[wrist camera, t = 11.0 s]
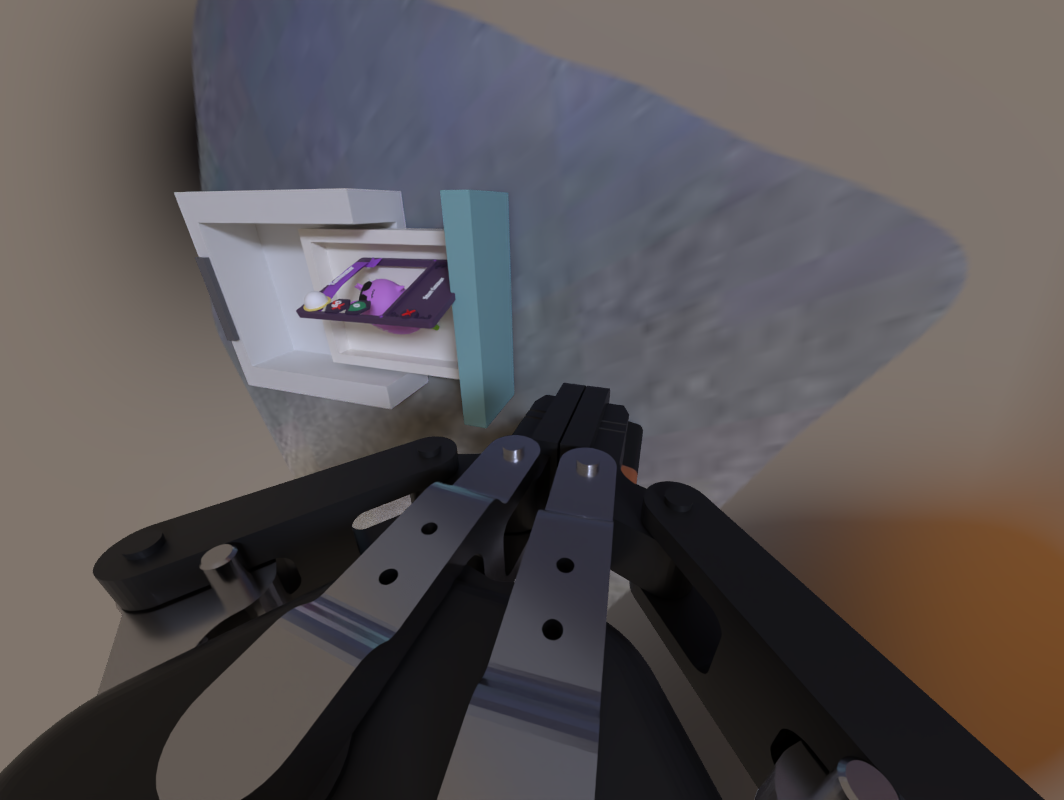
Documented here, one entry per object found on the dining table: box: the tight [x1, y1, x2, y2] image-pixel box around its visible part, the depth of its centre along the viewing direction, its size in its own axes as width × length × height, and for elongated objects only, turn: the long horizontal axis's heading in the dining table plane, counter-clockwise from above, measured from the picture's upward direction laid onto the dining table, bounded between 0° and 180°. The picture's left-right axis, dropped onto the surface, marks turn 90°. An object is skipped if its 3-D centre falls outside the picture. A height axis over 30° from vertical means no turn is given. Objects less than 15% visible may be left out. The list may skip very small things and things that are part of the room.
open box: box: [174, 188, 429, 409], centre depth 28 cm, size 14×14×5 cm
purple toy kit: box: [296, 257, 456, 334], centre depth 24 cm, size 7×5×9 cm
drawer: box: [298, 190, 514, 428], centre depth 26 cm, size 14×14×5 cm
